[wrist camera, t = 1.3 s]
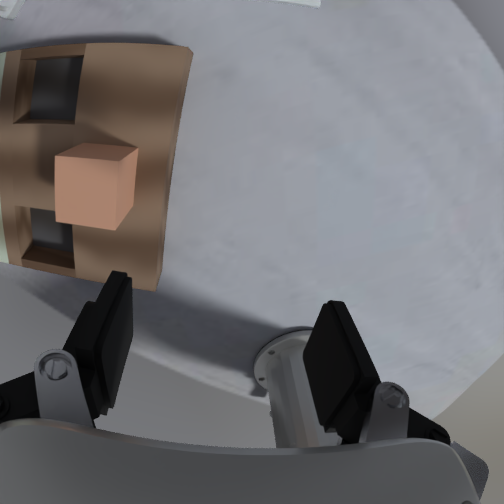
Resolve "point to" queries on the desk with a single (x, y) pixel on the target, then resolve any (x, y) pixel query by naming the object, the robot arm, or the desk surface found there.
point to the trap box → (88, 131)
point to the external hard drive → (297, 2)
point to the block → (95, 184)
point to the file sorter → (10, 8)
